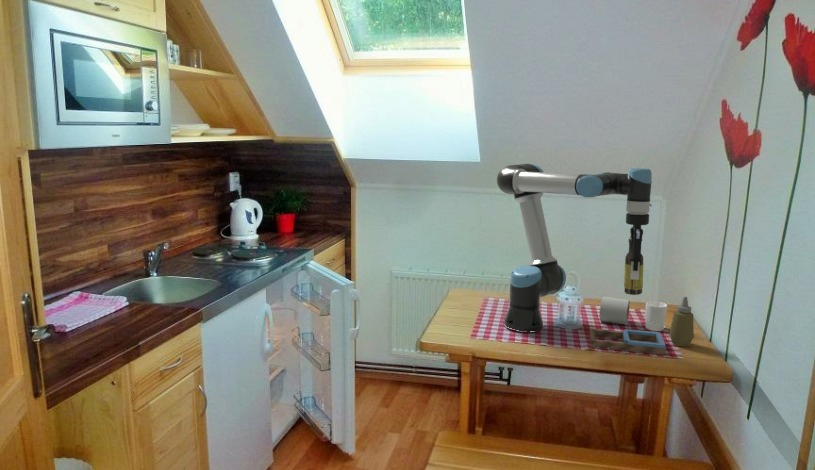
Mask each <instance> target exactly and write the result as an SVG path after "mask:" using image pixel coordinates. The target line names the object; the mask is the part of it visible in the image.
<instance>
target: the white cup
mask: <svg viewBox="0 0 815 470" xmlns="http://www.w3.org/2000/svg"><path fill="white" fill-rule="evenodd" d="M667 311H668V304H666V303H665V302H661V301H655V300H652V301H651V300H649V301H646V302H645V314H644V315H645V316H644V317H645V324H644V326H645V327H644V328H645V329H646V330H649V331H651V332H663V331H664V329H665V325H666V324H665V323H666V319H667V314H668V313H667Z"/></svg>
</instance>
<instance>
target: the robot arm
mask: <svg viewBox="0 0 815 470" xmlns="http://www.w3.org/2000/svg"><path fill="white" fill-rule="evenodd" d="M652 179H653V178H652V170H651V169H650V168H641V167H640V168H639V167H638V168H637V167H636V168H634V167H633V168H630V169H628V173H620V172H619V173H618V172H610V171H609V172H608V171H607V172H599V173H598V174H585V173H584V174H582V173H581V174H580V173H564V172H563V173H562V172H561V173H560V172H559V173H558V172H544V170H543V169H542V167H540V166H539V165H537V164H534V163H522V164H511V165H510V164H509V165H506V166H504V167H502V169H500V171H499V172H498V174H497V176H496V184H497V186H498V188H499V189H500V190H501V192H503V193H505V194H508V195H513V196H514V201H515V202H518V204H519V207H520V211H521V212H520V213H521V217H522V222H523V228H524V231H525V237H526V241H527V242H526V243H527V247H528V252H529V256H530V261H529V263H528V265H525V266H522V265H521V266H518V267H515V268H514V269H513V270H512V271H511V273H510V278H509V307H508V308H507V311H506V315H505V316H504V317H505V318H504V321H503V325H504V324H505V325H506V326H507V327H509V328H512V329H515V330H519V331H527V332H530V331H538V330H541V329H542V328H543V329H544V321H543V317H542V314H541V310H540V305H541V304H540V303H541V302H540V301H541V298H543V297H546V296H549V295H550V296H551V295H554V294H556V293H558V292H560V291H562V289H563V288H564V287H565V285H566V282H567V275H566V271H565V270H564V268H563V267H562V266H561V265H560V264H559V263H558V259H557V258H556V257H554V256H553V254H552V248H551V245H550V238H549V234H548V229H547V224H546V220H545V214H544V210H543V205H542V200H541V199H542V196H543V195H544V194H554V195H555V194H556V195H566V196H567V195H568V196H569V195H572V196H579V197H580V196H581V197H582V198H596V197H600V196H610V195H622V196H626V199H627V200H626V206H625V207H626V208H625V210H626V212H627V213H626V214H625V223H626V224H627V225H632V226H631V227H630V229H629V230H630V237H629V238H631V242H633V250H632V260H630V261H631V276H630V279H632V280H639V268H640V261H641V254H642V242H643V235H644V230H643V228H642V226H648V225H649V222H650V214H649V213H650V207H652V203H651V193H652V192H651V191H652V183H653V181H652ZM637 257H638V258H637ZM543 329H542V330H543ZM542 330H541V331H542ZM538 332H539V331H538Z"/></svg>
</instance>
